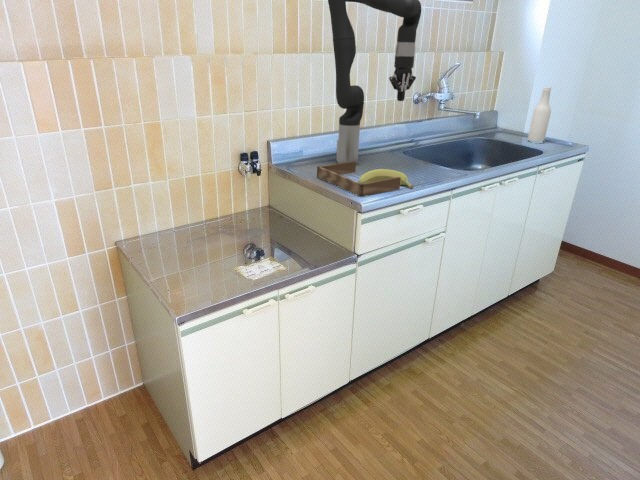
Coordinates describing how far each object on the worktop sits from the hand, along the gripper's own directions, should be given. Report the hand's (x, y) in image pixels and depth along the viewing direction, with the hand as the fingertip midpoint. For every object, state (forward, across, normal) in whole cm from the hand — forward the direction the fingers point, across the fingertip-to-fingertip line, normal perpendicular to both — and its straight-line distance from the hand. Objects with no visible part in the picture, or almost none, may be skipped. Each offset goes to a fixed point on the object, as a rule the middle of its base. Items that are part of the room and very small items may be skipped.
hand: (400, 100), depth 186 cm
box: (+29, +26, +7) cm, 40 cm away
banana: (+30, +18, +15) cm, 37 cm away
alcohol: (+29, -114, -5) cm, 118 cm away
